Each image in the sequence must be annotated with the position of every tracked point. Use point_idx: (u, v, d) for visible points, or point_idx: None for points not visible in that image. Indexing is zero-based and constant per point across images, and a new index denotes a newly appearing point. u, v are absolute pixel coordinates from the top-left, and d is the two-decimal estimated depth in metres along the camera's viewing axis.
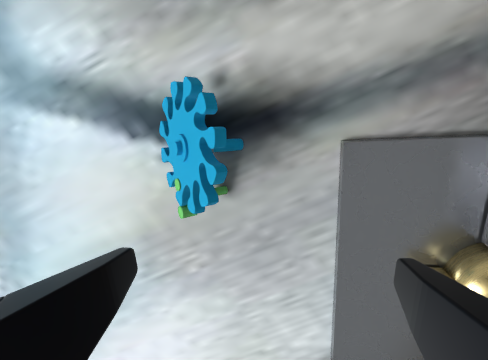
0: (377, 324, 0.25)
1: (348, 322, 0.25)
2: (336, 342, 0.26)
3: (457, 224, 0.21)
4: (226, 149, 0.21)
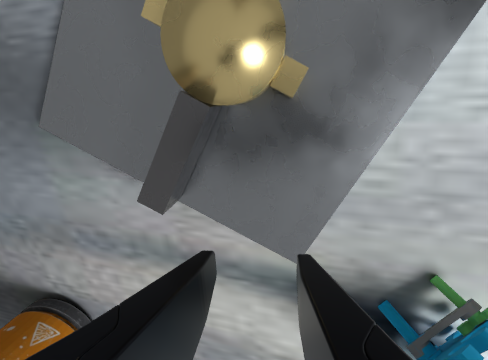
0: (394, 14, 0.15)
1: (433, 36, 0.15)
2: None
3: (237, 135, 0.19)
4: (399, 321, 0.20)
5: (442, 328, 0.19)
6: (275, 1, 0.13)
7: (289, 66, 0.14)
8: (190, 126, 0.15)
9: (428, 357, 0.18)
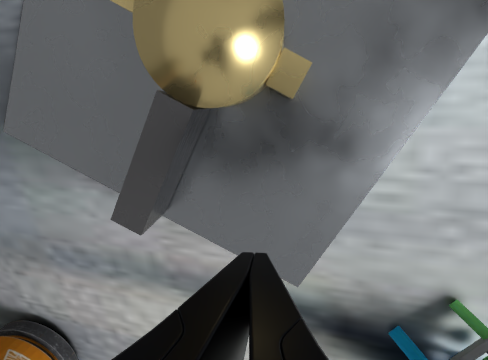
0: None
1: (461, 25, 0.13)
2: None
3: (228, 142, 0.16)
4: (414, 351, 0.18)
5: None
6: None
7: (288, 61, 0.12)
8: (170, 133, 0.13)
9: None
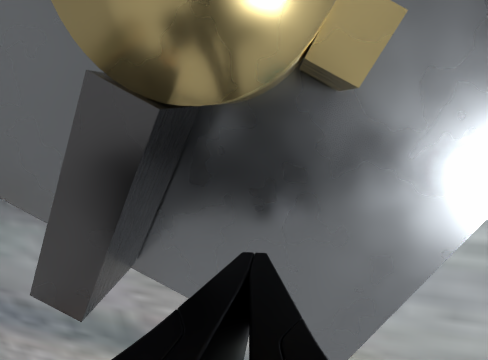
0: None
1: None
2: None
3: (229, 161, 0.10)
4: None
5: None
6: None
7: (356, 7, 0.06)
8: (118, 154, 0.07)
9: None
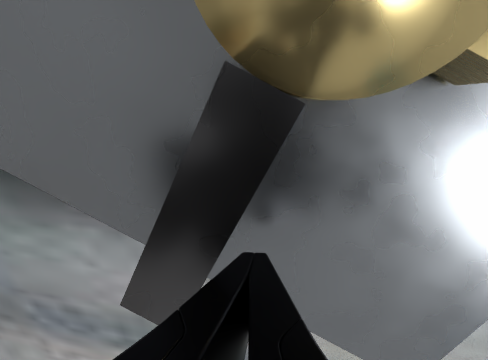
0: None
1: None
2: None
3: (321, 161, 0.09)
4: None
5: None
6: None
7: None
8: (248, 153, 0.06)
9: None
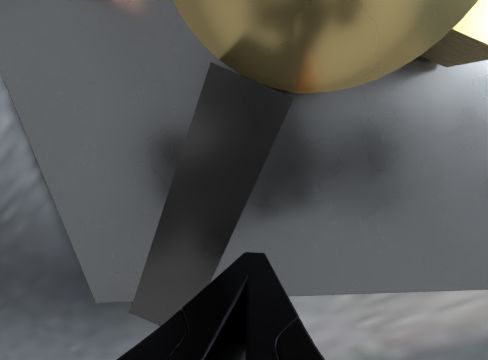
0: None
1: None
2: None
3: (407, 120, 0.09)
4: None
5: None
6: None
7: None
8: (242, 152, 0.06)
9: None
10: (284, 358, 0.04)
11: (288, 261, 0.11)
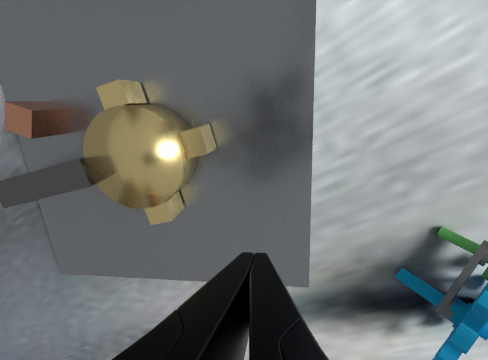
0: (252, 60, 0.17)
1: (294, 57, 0.16)
2: (311, 7, 0.16)
3: (195, 209, 0.21)
4: (420, 286, 0.19)
5: (463, 280, 0.17)
6: (178, 177, 0.17)
7: (162, 209, 0.18)
8: (68, 183, 0.18)
9: (458, 315, 0.17)
10: (288, 358, 0.04)
11: (153, 261, 0.23)
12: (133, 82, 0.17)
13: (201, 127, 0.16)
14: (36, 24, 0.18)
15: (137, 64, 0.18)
